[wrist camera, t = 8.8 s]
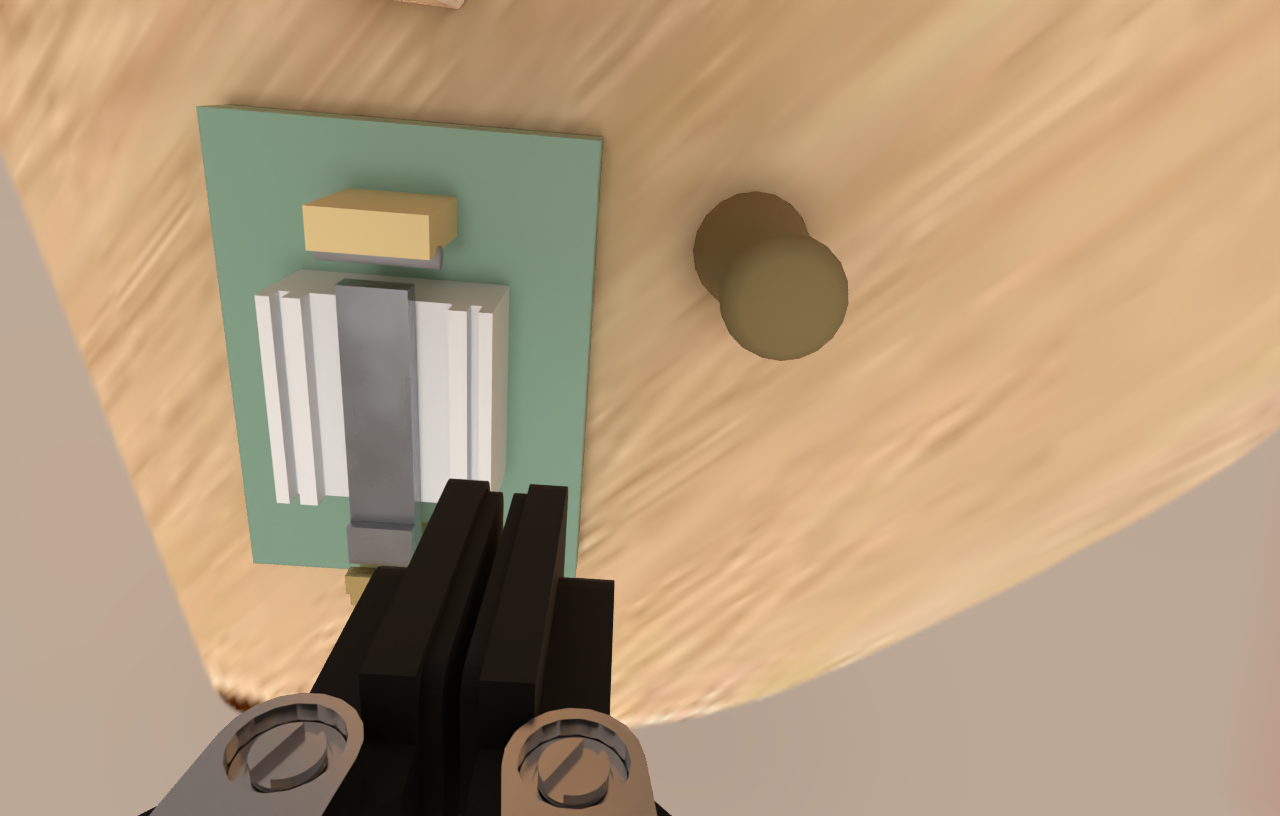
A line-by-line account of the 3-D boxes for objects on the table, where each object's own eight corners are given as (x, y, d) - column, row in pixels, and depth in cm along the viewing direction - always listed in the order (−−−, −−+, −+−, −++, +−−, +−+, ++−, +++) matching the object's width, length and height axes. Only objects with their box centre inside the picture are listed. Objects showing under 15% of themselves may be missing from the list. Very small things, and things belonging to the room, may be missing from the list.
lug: (385, 506, 43) (344, 576, 37) (440, 510, 43) (409, 580, 37) (386, 538, 44) (347, 611, 38) (441, 541, 44) (410, 615, 38)
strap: (344, 278, 34) (329, 288, 32) (414, 283, 34) (403, 294, 32) (360, 542, 39) (348, 563, 37) (422, 546, 39) (412, 567, 37)
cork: (690, 307, 42) (708, 379, 32) (696, 189, 39) (718, 227, 29) (803, 309, 42) (858, 383, 32) (816, 193, 40) (879, 231, 29)
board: (228, 104, 38) (121, 110, 30) (603, 136, 38) (595, 150, 31) (275, 534, 47) (203, 625, 39) (577, 554, 48) (567, 647, 40)
